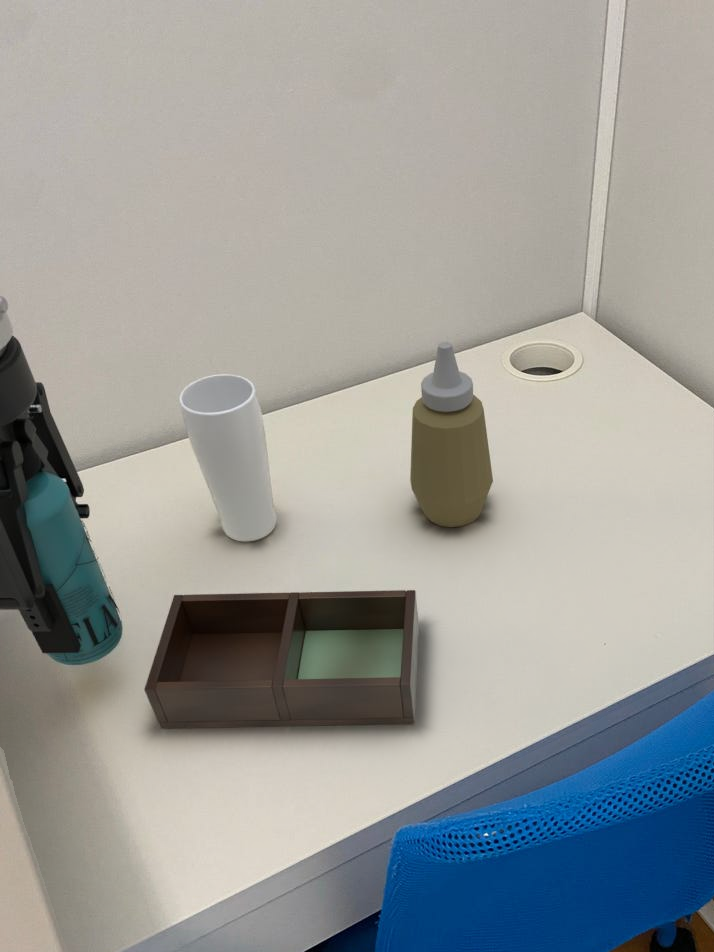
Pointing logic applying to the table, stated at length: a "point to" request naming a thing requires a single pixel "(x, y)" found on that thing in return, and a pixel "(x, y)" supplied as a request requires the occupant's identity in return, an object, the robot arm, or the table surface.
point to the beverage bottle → (69, 563)
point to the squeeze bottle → (449, 445)
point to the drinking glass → (231, 452)
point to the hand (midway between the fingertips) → (74, 617)
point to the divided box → (287, 660)
